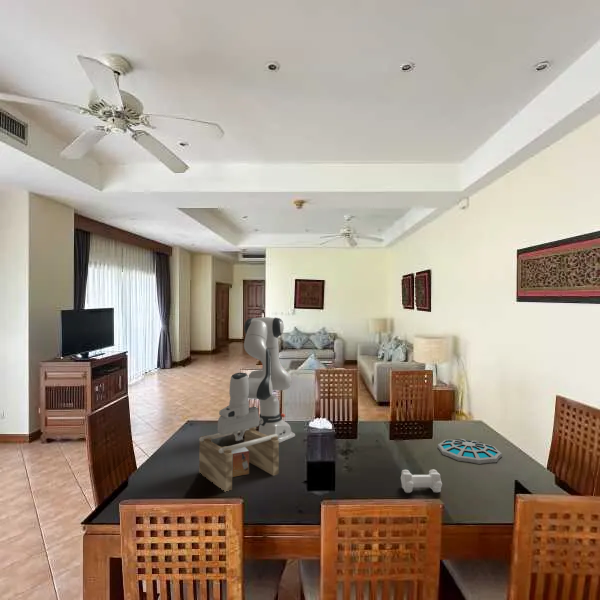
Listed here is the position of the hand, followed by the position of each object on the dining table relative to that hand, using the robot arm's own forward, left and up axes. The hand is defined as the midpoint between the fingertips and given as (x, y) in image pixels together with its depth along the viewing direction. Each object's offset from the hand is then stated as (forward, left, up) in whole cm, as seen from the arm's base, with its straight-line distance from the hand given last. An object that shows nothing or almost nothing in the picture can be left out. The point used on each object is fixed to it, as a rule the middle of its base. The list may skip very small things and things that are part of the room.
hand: (239, 440), depth 174 cm
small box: (0, 0, -15) cm, 15 cm away
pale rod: (0, -9, 0) cm, 9 cm away
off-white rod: (0, +9, 0) cm, 9 cm away
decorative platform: (-105, +55, -16) cm, 120 cm away
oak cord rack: (0, 0, -15) cm, 15 cm away
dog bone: (-49, +62, -15) cm, 81 cm away
